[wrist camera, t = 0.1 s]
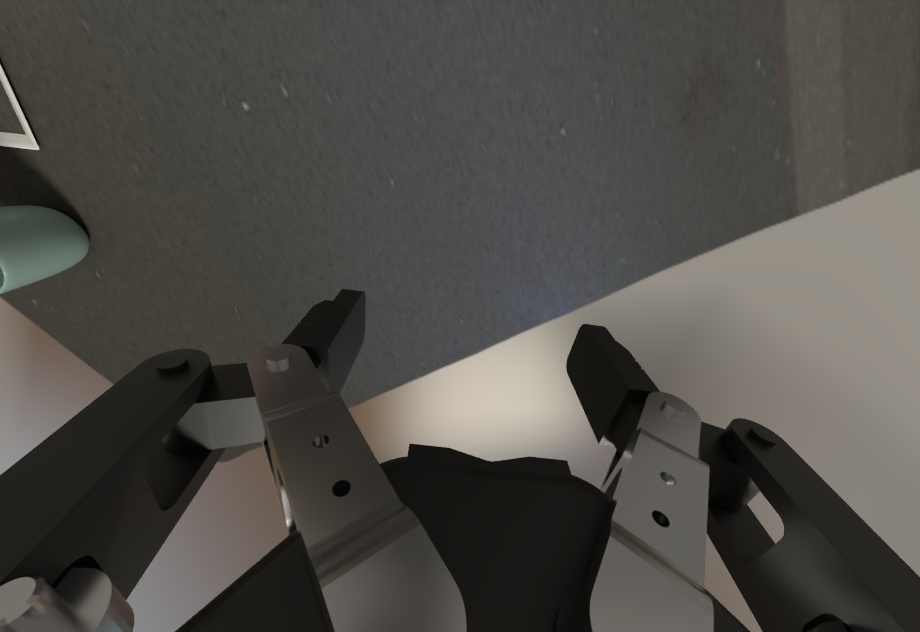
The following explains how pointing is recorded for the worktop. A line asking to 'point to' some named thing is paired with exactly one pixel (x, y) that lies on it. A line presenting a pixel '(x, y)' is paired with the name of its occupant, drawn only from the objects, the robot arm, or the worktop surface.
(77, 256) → the cup
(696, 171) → the worktop surface
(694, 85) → the worktop surface
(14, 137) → the dessert
